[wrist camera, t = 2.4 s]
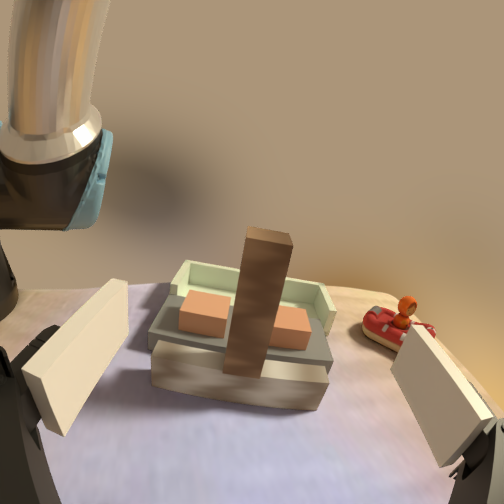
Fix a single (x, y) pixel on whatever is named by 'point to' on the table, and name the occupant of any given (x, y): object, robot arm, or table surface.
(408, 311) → the toy boat
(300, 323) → the tile
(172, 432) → the table surface
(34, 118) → the robot arm
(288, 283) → the tray
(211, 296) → the tile
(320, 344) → the slate board
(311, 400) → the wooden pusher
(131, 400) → the table surface
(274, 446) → the table surface
